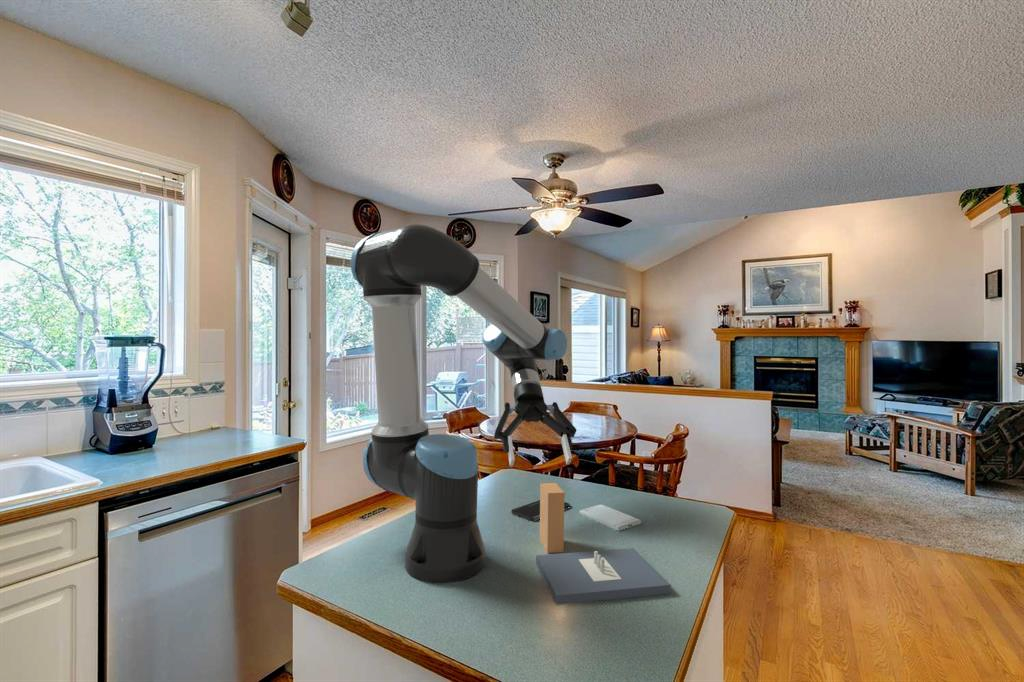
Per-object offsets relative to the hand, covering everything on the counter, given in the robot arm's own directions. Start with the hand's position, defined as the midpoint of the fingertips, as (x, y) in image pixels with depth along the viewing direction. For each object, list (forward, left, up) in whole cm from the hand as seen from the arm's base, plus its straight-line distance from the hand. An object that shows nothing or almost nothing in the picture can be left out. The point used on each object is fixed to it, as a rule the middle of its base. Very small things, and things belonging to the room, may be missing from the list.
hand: (541, 462), depth 105 cm
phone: (+3, +10, -15) cm, 18 cm away
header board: (+5, -24, -15) cm, 29 cm away
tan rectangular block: (0, -10, -15) cm, 18 cm away
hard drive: (+18, +2, -15) cm, 24 cm away
